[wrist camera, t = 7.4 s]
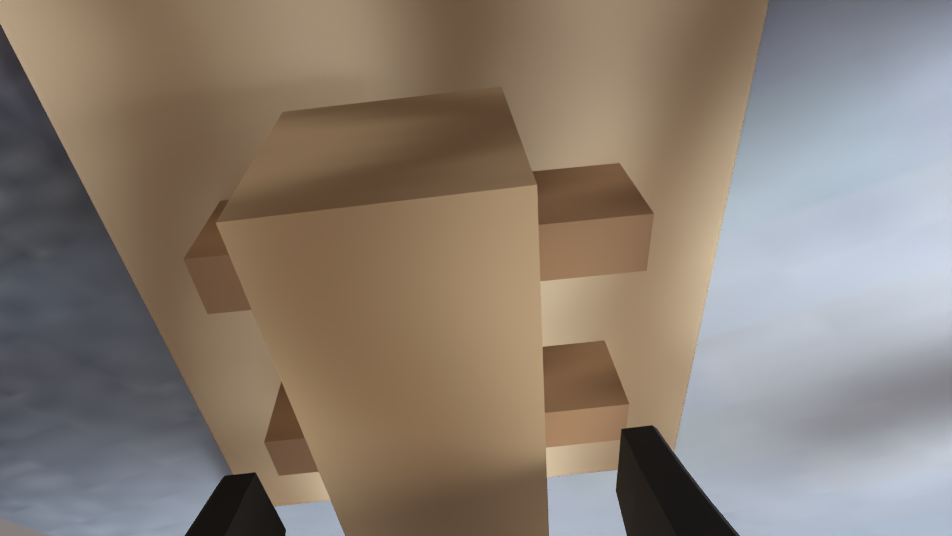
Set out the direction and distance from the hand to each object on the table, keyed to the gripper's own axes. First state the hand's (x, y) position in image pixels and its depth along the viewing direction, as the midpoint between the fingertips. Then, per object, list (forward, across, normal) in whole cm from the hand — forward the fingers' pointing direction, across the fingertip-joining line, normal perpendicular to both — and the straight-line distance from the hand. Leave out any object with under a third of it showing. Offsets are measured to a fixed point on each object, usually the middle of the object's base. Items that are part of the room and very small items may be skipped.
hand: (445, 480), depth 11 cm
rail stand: (+7, 0, 0) cm, 7 cm away
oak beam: (+3, 0, -1) cm, 3 cm away
